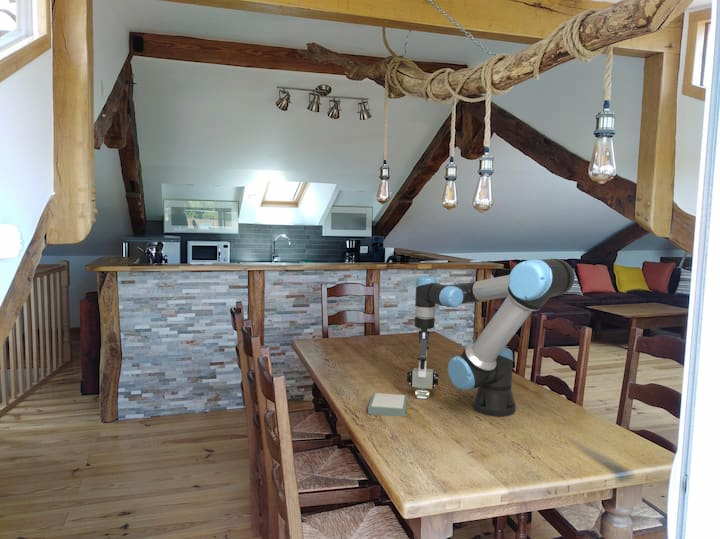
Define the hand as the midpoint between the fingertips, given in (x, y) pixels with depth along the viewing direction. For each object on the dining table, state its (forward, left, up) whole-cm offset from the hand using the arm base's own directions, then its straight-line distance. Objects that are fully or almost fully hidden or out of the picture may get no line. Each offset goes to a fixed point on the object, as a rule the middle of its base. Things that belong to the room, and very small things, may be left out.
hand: (422, 371), depth 198 cm
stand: (+12, +13, -10) cm, 20 cm away
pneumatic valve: (0, 0, -10) cm, 10 cm away
